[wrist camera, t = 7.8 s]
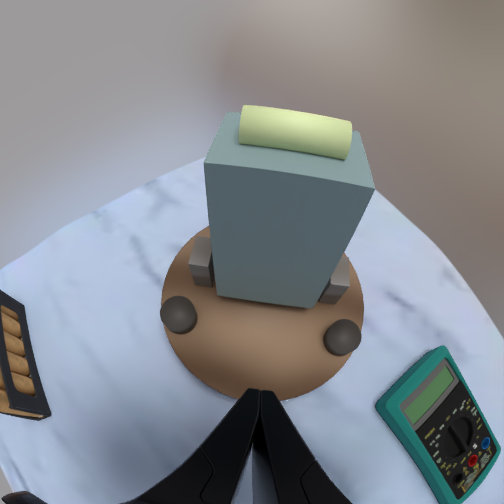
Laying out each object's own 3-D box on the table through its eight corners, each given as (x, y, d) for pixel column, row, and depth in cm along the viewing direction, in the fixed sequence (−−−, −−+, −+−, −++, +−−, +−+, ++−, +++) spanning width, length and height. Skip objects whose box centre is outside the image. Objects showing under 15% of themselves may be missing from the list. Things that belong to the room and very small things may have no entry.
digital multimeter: (440, 509, 11) (459, 515, 9) (368, 403, 18) (386, 401, 15) (487, 453, 14) (508, 452, 11) (426, 348, 20) (446, 338, 17)
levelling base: (346, 408, 17) (381, 405, 12) (151, 381, 18) (121, 371, 13) (349, 243, 24) (372, 203, 20) (193, 221, 25) (185, 176, 20)
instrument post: (312, 308, 17) (387, 160, 8) (217, 295, 17) (201, 130, 8) (314, 256, 20) (366, 107, 10) (228, 243, 20) (227, 86, 11)
